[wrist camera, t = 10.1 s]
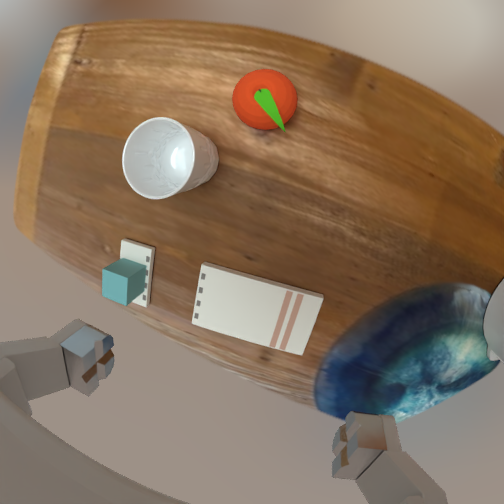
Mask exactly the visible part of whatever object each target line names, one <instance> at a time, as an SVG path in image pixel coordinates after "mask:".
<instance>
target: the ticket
mask: <svg viewBox="0 0 504 504" xmlns="http://www.w3.org/2000/svg"><path fill="white" fill-rule="evenodd" d="M323 299H324V298H323V294H319V293H316V292H312V291H308V290H305V289H301V288H297V287H293V286H290V285H286V284H283V283H279V282H275V281H272V280H268V279H264V278H261V277H257V276H254V275H250V274H247V273H243V272H240V271H236V270H233V269H229V268H226V267H222V266H219V265H215V264H212V263H208V262H204V263H203V264H202V265H201V271H200V277H199V282H198V288H197V294H196V300H195V306H194V313H193V319H192V324H195V325H198V326H201V327H204V328H207V329H210V330H213V331H216V332H220V333H223V334H226V335H229V336H233V337H236V338H239V339H243V340H246V341H250V342H253V343H257V344H260V345H264V346H267V347H271V348H275V349H278V350H282V351H286V352H290V353H294V354H298V355H302V354H303V352H304V349H305V347H306V344H307V342H308V339H309V336H310V334H311V331H312V329H313V326H314V323H315V321H316V318H317V315H318V313H319V310H320V307H321V304H322V302H323Z"/></svg>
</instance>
